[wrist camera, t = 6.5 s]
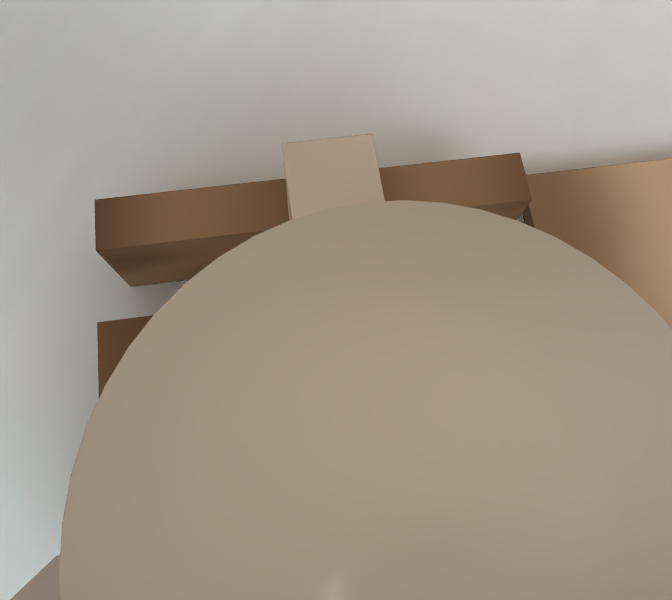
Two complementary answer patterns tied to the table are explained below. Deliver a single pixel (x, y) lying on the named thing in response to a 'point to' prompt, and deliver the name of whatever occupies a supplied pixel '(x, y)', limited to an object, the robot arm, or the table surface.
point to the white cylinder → (381, 416)
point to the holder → (261, 224)
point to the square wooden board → (613, 221)
